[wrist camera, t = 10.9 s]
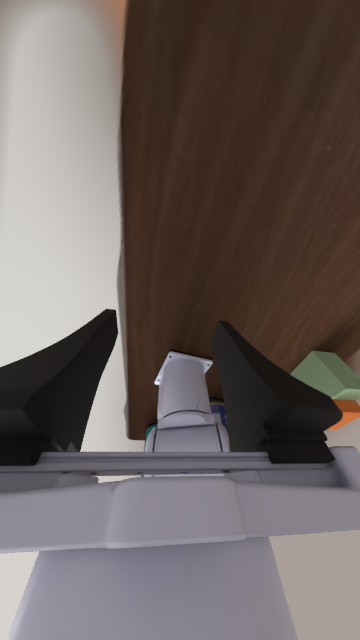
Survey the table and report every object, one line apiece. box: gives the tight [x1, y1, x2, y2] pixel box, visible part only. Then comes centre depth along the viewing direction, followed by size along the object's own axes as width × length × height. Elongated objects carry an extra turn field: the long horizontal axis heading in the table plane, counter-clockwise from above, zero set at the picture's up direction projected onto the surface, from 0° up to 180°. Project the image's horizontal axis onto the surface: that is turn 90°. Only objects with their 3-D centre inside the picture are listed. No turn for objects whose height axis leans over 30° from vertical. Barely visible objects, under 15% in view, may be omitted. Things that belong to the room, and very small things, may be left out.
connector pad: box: [328, 400, 360, 429], centre depth 26 cm, size 6×4×3 cm, turn 171°
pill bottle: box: [209, 399, 228, 434], centre depth 34 cm, size 6×6×11 cm
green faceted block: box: [290, 351, 360, 401], centre depth 29 cm, size 12×4×7 cm, turn 170°
